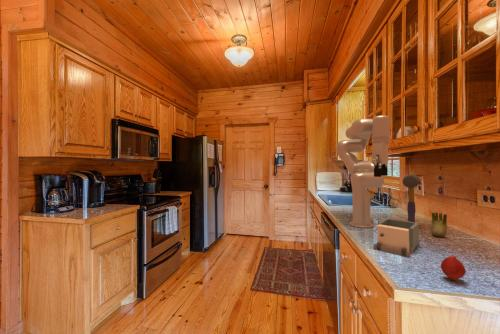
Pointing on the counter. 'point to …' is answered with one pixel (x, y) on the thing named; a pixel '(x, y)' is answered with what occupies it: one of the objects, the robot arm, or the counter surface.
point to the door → (393, 236)
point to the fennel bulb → (439, 225)
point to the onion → (453, 268)
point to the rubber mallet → (411, 194)
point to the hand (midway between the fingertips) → (380, 176)
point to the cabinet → (413, 237)
